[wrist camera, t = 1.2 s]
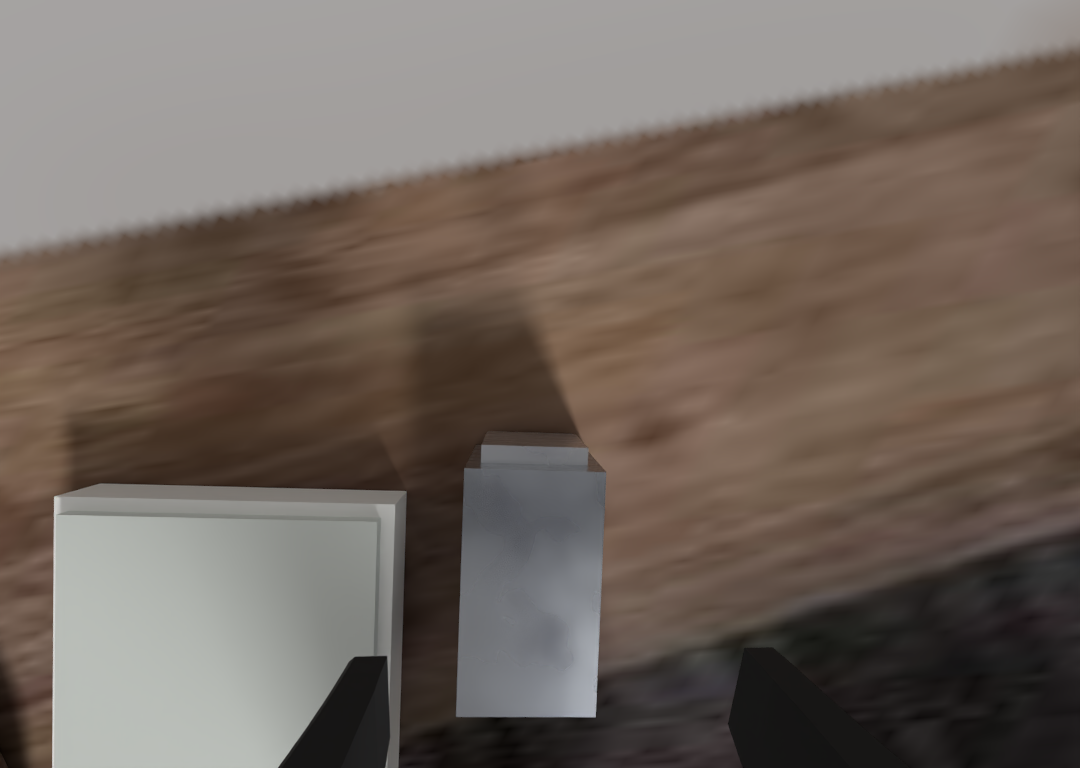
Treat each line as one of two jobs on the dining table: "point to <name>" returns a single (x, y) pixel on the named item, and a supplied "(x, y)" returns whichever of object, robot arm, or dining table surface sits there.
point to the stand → (216, 618)
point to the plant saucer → (2, 762)
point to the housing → (530, 577)
